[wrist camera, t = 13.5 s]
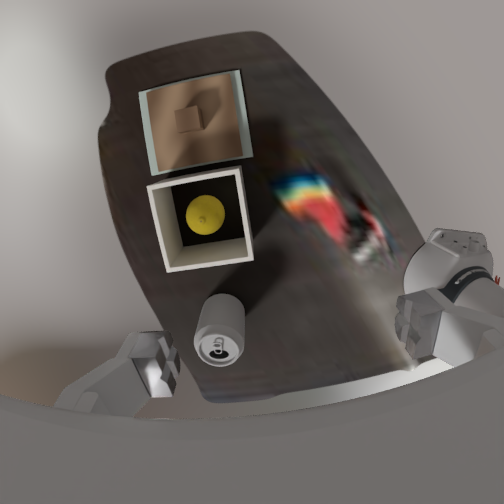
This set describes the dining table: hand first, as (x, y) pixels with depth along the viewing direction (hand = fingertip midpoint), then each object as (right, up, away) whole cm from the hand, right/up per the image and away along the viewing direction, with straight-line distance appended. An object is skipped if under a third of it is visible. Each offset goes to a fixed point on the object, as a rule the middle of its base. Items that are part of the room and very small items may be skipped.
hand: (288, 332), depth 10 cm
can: (-6, -7, +42) cm, 43 cm away
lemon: (-8, +9, +36) cm, 38 cm away
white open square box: (-8, +9, +36) cm, 38 cm away
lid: (-10, +22, +31) cm, 39 cm away
